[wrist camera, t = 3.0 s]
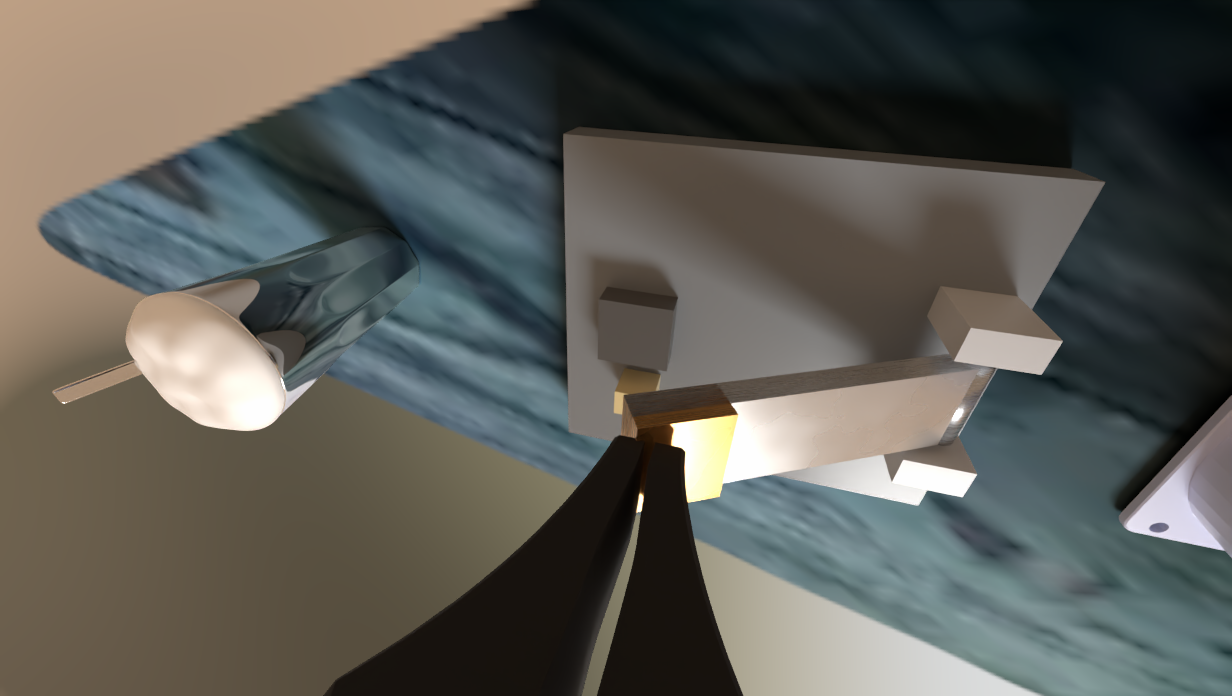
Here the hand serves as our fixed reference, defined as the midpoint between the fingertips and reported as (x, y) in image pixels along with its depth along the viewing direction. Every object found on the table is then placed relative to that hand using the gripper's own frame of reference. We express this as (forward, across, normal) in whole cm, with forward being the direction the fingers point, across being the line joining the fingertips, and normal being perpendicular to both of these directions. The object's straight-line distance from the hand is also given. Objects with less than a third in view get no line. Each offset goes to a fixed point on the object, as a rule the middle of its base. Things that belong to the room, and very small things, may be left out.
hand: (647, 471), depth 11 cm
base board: (+8, -3, 0) cm, 9 cm away
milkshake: (+9, +13, 0) cm, 16 cm away
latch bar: (+3, -4, 0) cm, 5 cm away
